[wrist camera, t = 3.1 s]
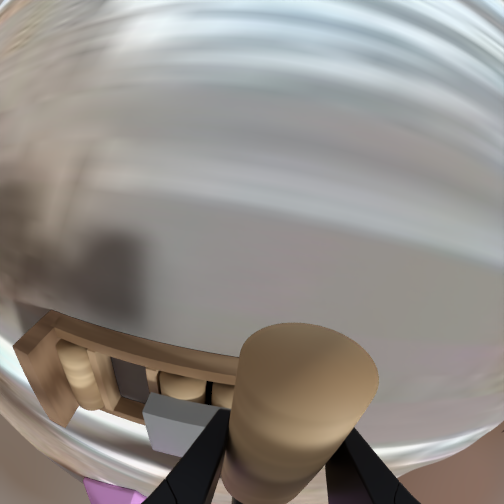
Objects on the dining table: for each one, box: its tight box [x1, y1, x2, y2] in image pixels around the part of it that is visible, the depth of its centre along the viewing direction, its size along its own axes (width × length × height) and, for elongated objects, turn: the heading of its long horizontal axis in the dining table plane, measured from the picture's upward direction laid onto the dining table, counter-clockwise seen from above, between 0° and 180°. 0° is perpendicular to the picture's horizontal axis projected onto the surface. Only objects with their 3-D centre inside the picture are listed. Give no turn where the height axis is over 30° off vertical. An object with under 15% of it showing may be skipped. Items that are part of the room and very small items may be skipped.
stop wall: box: [13, 310, 79, 428], centre depth 18 cm, size 10×2×6 cm, turn 172°
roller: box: [221, 323, 379, 504], centre depth 7 cm, size 7×4×4 cm, turn 172°
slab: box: [142, 392, 231, 457], centre depth 17 cm, size 6×12×2 cm, turn 82°
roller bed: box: [51, 314, 239, 425], centre depth 19 cm, size 10×22×4 cm, turn 82°
